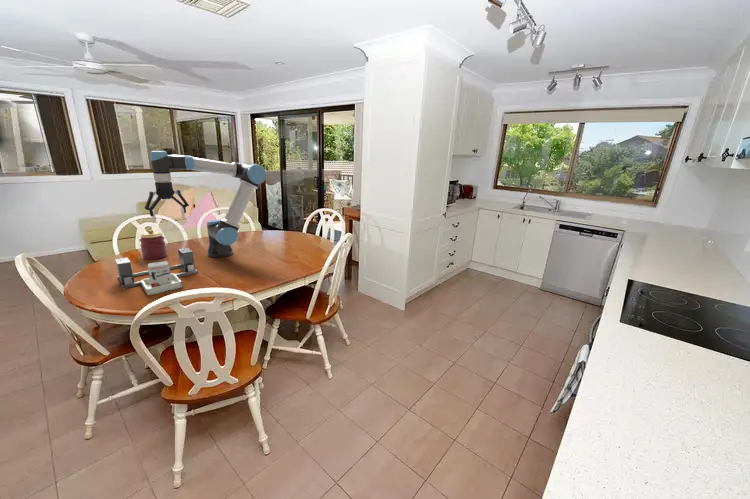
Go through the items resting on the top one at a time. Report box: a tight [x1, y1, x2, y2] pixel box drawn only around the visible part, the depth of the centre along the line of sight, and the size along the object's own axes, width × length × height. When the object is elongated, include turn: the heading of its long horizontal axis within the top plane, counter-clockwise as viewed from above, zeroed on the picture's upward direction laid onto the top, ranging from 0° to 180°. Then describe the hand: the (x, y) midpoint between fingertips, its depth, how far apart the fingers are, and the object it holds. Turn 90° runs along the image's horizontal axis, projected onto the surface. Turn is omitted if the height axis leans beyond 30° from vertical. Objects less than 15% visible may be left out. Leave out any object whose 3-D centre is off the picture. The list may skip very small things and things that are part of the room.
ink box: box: [147, 260, 172, 288], centre depth 154 cm, size 8×5×12 cm, turn 125°
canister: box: [138, 229, 168, 261], centre depth 193 cm, size 13×13×18 cm
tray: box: [140, 272, 183, 296], centre depth 156 cm, size 15×15×3 cm
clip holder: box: [114, 247, 199, 290], centre depth 166 cm, size 34×15×12 cm, turn 135°
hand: (169, 220), depth 170 cm, fingers open, 13 cm apart
